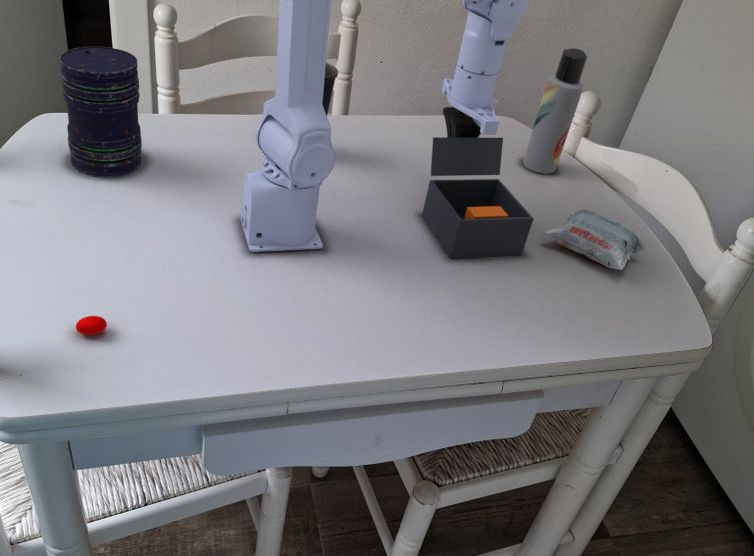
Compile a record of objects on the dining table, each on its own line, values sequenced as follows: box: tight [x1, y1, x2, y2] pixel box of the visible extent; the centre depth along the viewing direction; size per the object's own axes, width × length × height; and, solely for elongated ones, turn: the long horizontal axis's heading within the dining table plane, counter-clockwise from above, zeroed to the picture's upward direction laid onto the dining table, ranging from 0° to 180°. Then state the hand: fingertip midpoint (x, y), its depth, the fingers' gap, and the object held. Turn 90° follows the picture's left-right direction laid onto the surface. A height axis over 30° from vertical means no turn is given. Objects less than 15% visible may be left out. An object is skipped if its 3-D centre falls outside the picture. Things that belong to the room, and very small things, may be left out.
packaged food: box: [542, 209, 646, 271], centre depth 99 cm, size 9×12×5 cm
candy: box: [75, 315, 108, 336], centre depth 72 cm, size 3×2×2 cm, turn 103°
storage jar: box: [59, 46, 143, 178], centre depth 98 cm, size 10×10×15 cm
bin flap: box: [430, 136, 504, 177], centre depth 99 cm, size 5×11×1 cm
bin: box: [421, 178, 535, 260], centre depth 98 cm, size 11×11×6 cm
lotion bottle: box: [522, 47, 589, 175], centre depth 115 cm, size 6×6×20 cm
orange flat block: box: [464, 206, 508, 219], centre depth 96 cm, size 5×2×5 cm, turn 106°
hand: (455, 159), depth 102 cm, fingers closed
